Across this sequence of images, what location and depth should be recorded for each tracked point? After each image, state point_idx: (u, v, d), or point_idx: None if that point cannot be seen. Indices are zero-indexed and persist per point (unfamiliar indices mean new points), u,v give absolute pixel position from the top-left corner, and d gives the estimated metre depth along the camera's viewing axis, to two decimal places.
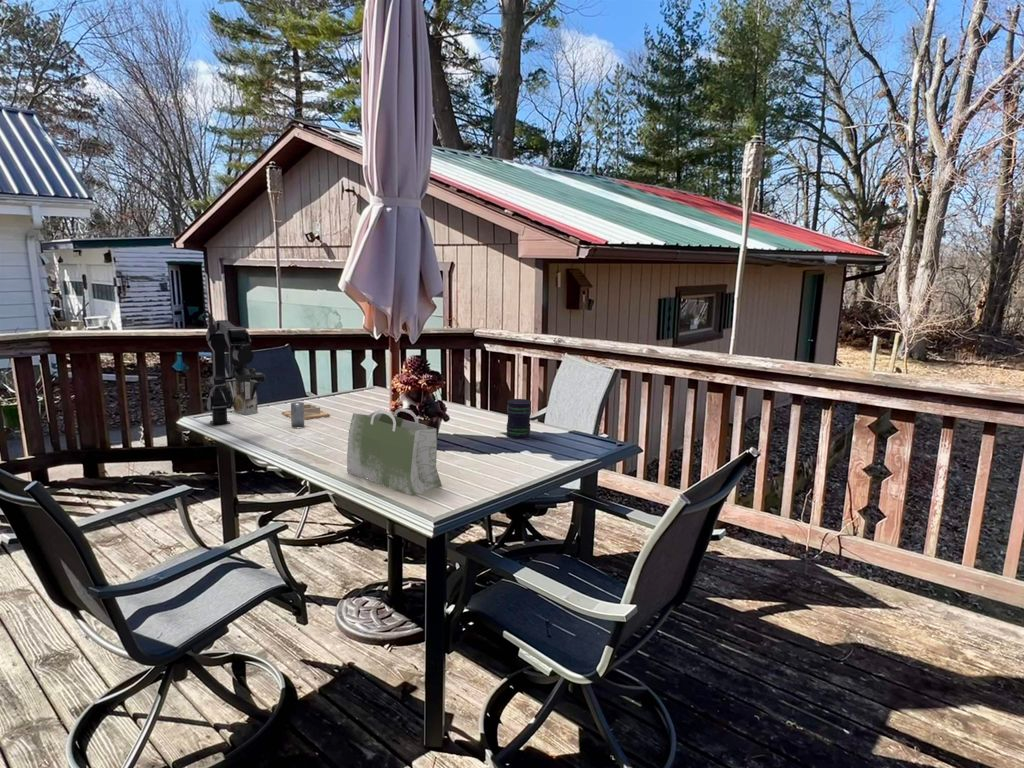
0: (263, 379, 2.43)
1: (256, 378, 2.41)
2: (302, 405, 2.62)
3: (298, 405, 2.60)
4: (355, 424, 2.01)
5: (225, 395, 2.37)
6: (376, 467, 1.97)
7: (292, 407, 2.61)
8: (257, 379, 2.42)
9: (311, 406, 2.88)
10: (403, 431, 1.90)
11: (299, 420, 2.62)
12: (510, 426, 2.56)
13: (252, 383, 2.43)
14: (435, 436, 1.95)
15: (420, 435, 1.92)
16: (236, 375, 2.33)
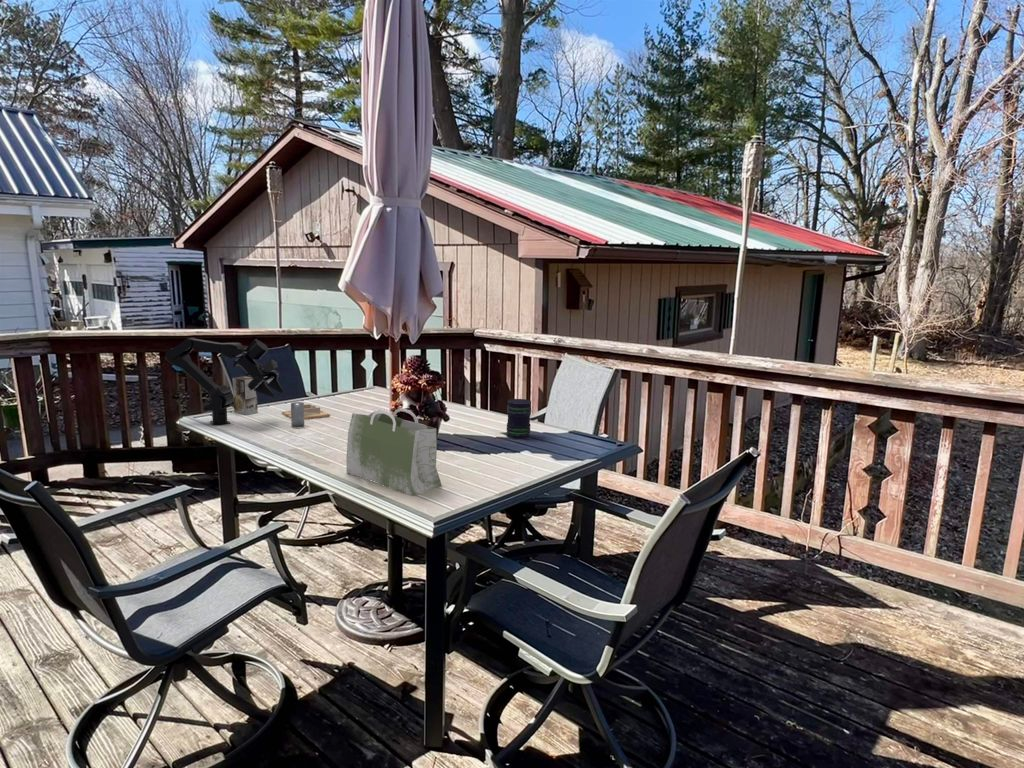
0: (277, 372, 2.69)
1: (274, 372, 2.66)
2: (302, 405, 2.62)
3: (298, 405, 2.60)
4: (354, 424, 2.01)
5: (270, 390, 2.57)
6: (376, 467, 1.97)
7: (292, 407, 2.61)
8: (275, 372, 2.67)
9: (311, 406, 2.88)
10: (403, 431, 1.90)
11: (299, 420, 2.62)
12: (510, 426, 2.56)
13: (272, 380, 2.66)
14: (435, 436, 1.95)
15: (420, 435, 1.92)
16: (267, 366, 2.58)
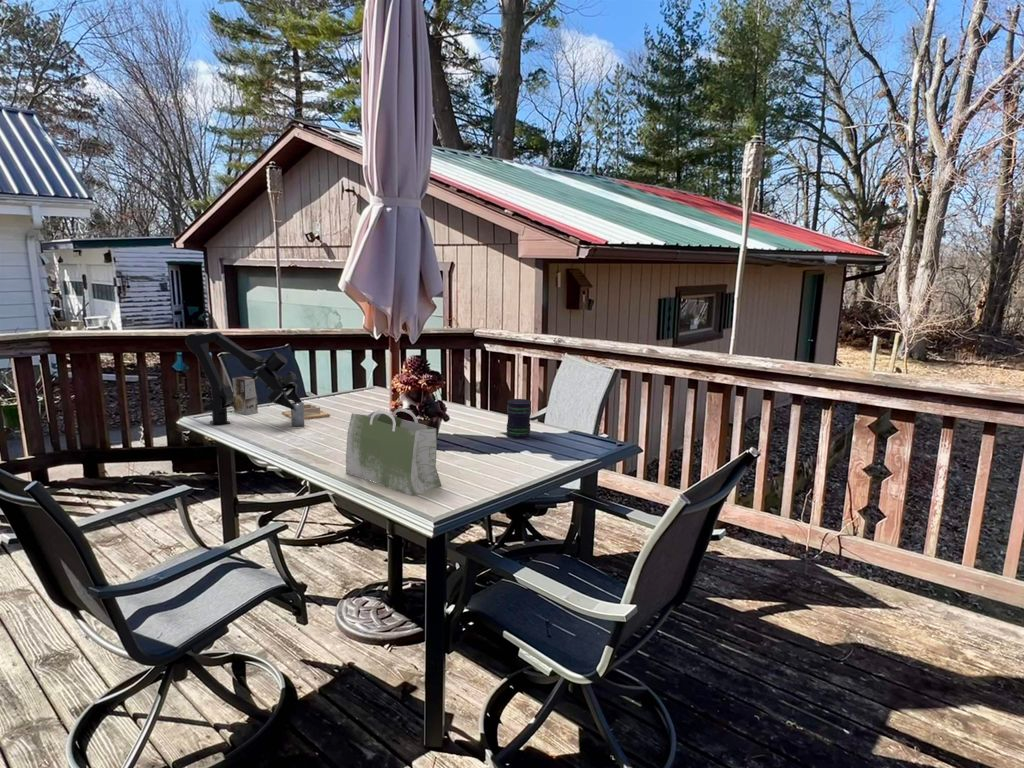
0: (296, 384, 2.70)
1: (292, 384, 2.67)
2: (302, 405, 2.62)
3: (298, 405, 2.60)
4: (354, 424, 2.01)
5: (289, 402, 2.57)
6: (375, 467, 1.97)
7: None
8: (293, 384, 2.68)
9: (311, 406, 2.88)
10: (403, 431, 1.89)
11: (299, 420, 2.62)
12: (510, 426, 2.56)
13: (291, 392, 2.67)
14: (435, 436, 1.95)
15: (420, 435, 1.92)
16: (286, 378, 2.58)
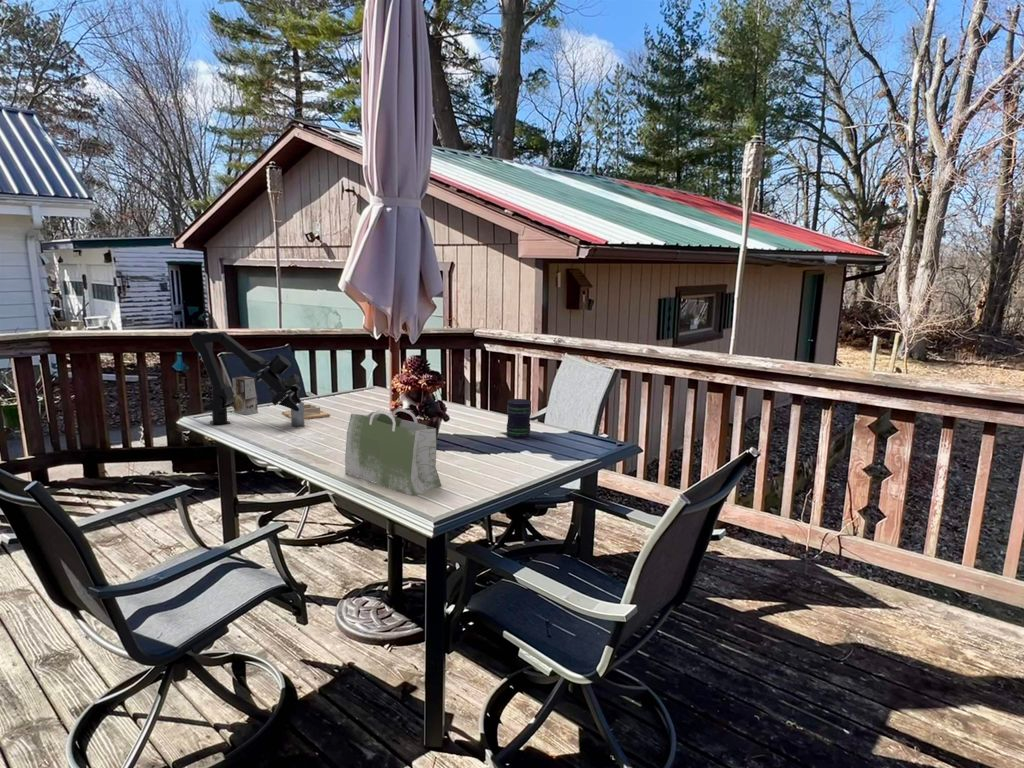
0: (299, 386, 2.70)
1: (296, 386, 2.67)
2: (302, 405, 2.62)
3: (298, 405, 2.60)
4: (353, 424, 2.00)
5: (294, 404, 2.59)
6: (375, 468, 1.96)
7: None
8: (297, 387, 2.68)
9: (311, 406, 2.88)
10: (403, 431, 1.89)
11: (299, 420, 2.62)
12: (510, 426, 2.56)
13: (293, 396, 2.65)
14: (435, 436, 1.95)
15: (420, 435, 1.92)
16: (290, 380, 2.59)
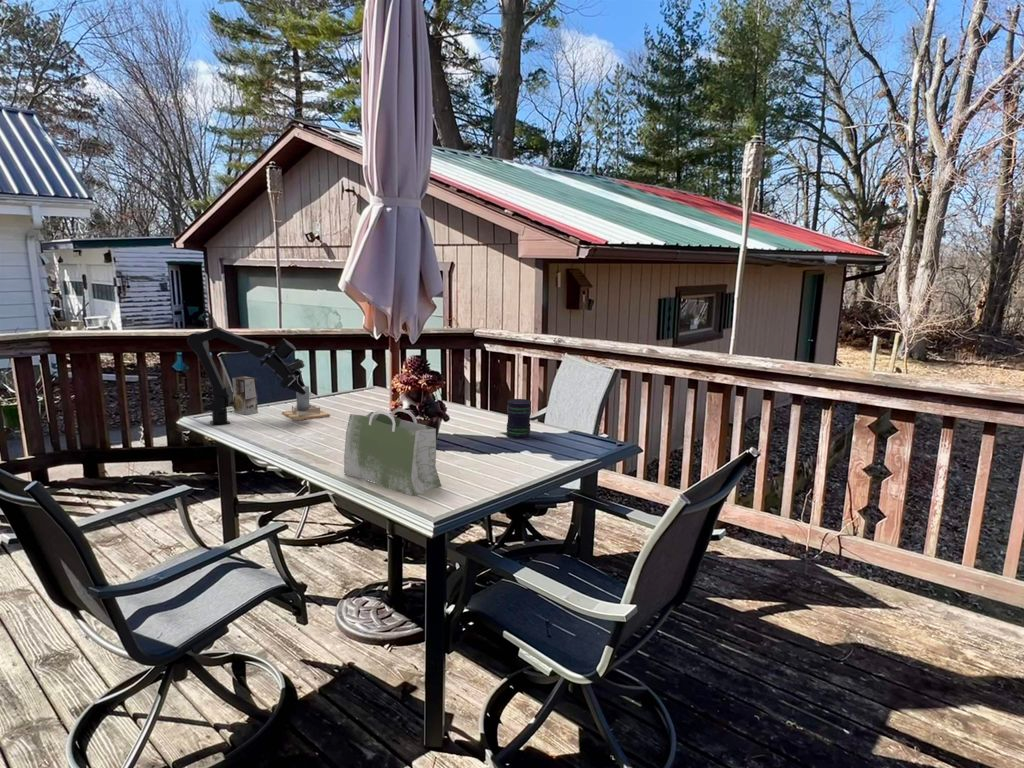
0: (300, 370, 2.74)
1: (298, 370, 2.72)
2: (308, 388, 2.67)
3: (304, 388, 2.66)
4: (352, 425, 2.00)
5: (301, 387, 2.64)
6: (375, 468, 1.96)
7: None
8: (299, 371, 2.72)
9: (311, 406, 2.88)
10: (403, 432, 1.89)
11: (305, 403, 2.67)
12: (510, 426, 2.56)
13: None
14: (434, 436, 1.95)
15: (420, 435, 1.92)
16: (296, 364, 2.63)
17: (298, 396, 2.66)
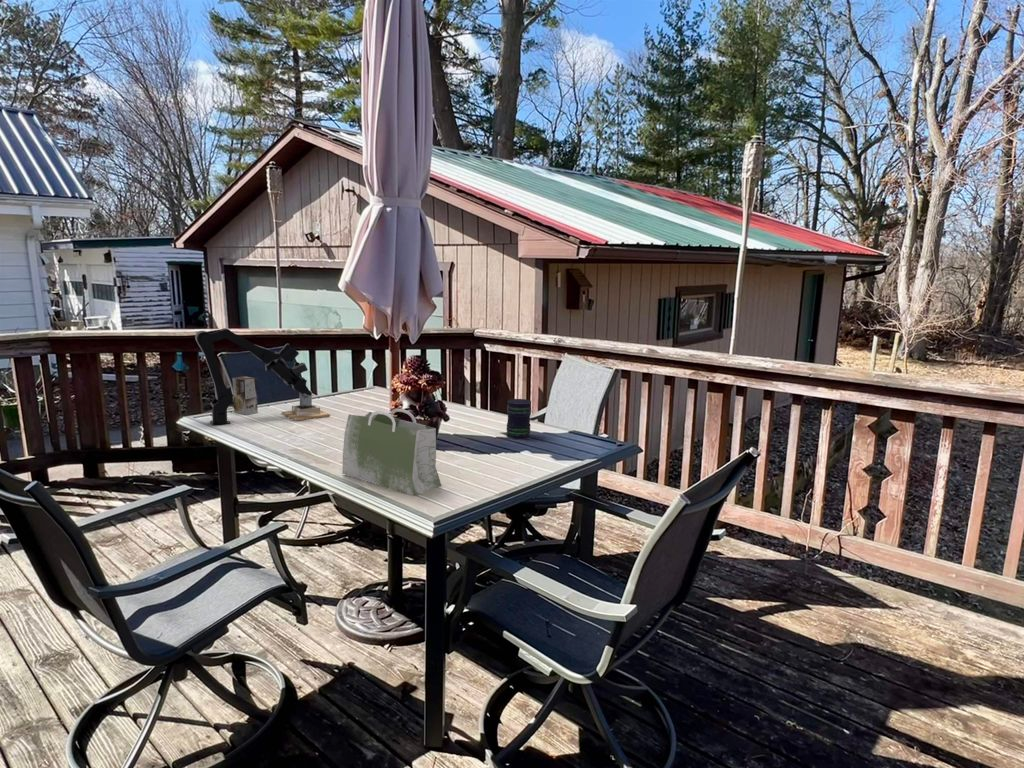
0: None
1: None
2: None
3: None
4: (351, 425, 1.99)
5: (308, 389, 2.79)
6: (374, 468, 1.96)
7: (304, 395, 2.80)
8: None
9: None
10: (403, 432, 1.89)
11: (310, 407, 2.83)
12: (510, 426, 2.56)
13: None
14: (434, 436, 1.95)
15: (420, 435, 1.92)
16: (302, 367, 2.78)
17: (303, 400, 2.81)
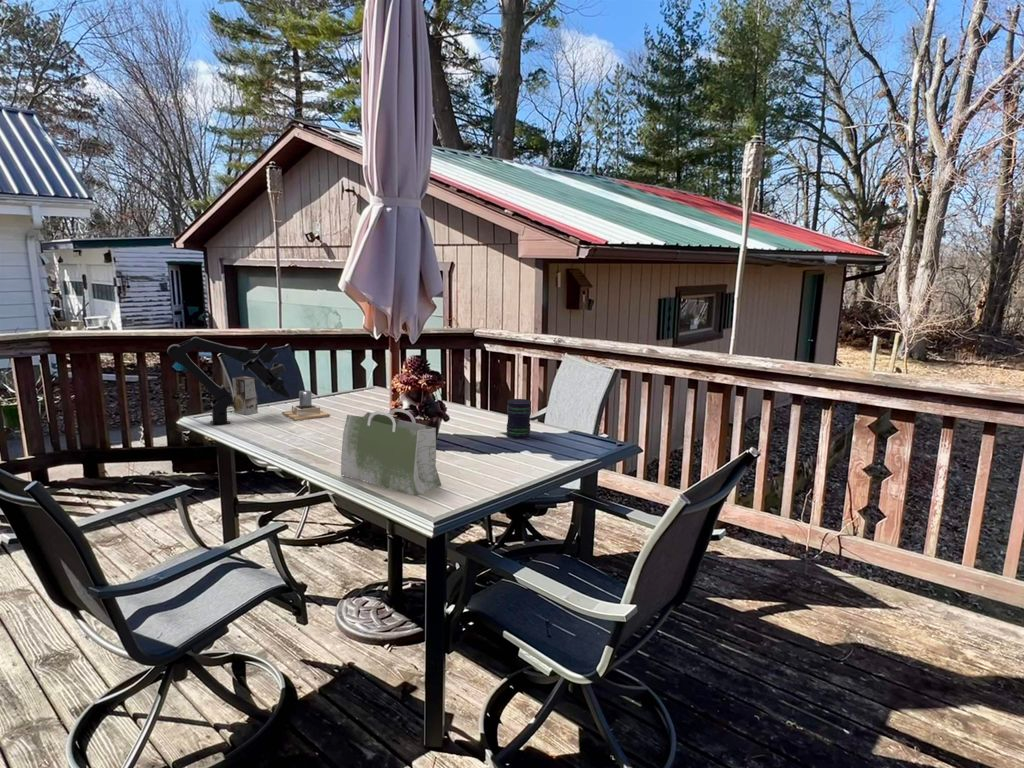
0: None
1: None
2: None
3: (309, 393, 2.82)
4: (350, 426, 1.99)
5: (286, 391, 2.72)
6: (374, 469, 1.95)
7: (303, 395, 2.80)
8: None
9: None
10: (404, 432, 1.89)
11: (310, 407, 2.83)
12: (510, 426, 2.56)
13: None
14: (434, 435, 1.95)
15: (420, 435, 1.93)
16: (280, 368, 2.72)
17: (303, 400, 2.81)
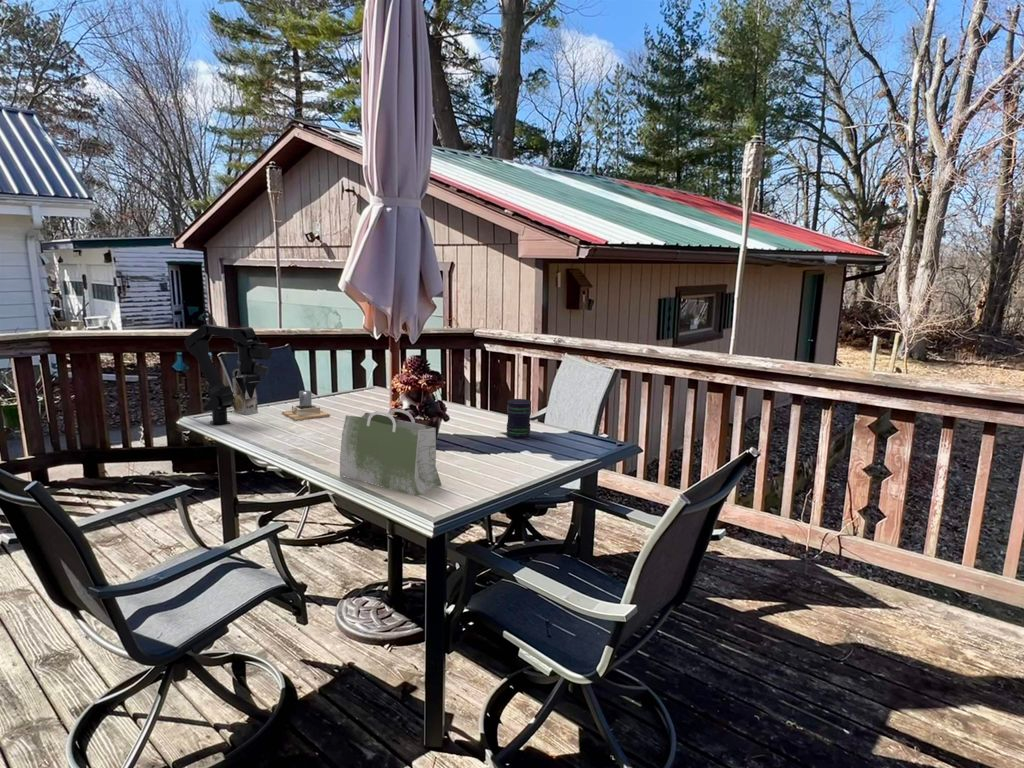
0: None
1: None
2: None
3: (309, 393, 2.82)
4: (349, 426, 1.98)
5: None
6: (374, 469, 1.95)
7: (303, 395, 2.80)
8: None
9: None
10: (404, 432, 1.89)
11: (310, 407, 2.83)
12: (510, 426, 2.56)
13: None
14: (434, 435, 1.96)
15: (420, 435, 1.93)
16: (264, 369, 2.59)
17: (303, 400, 2.81)
